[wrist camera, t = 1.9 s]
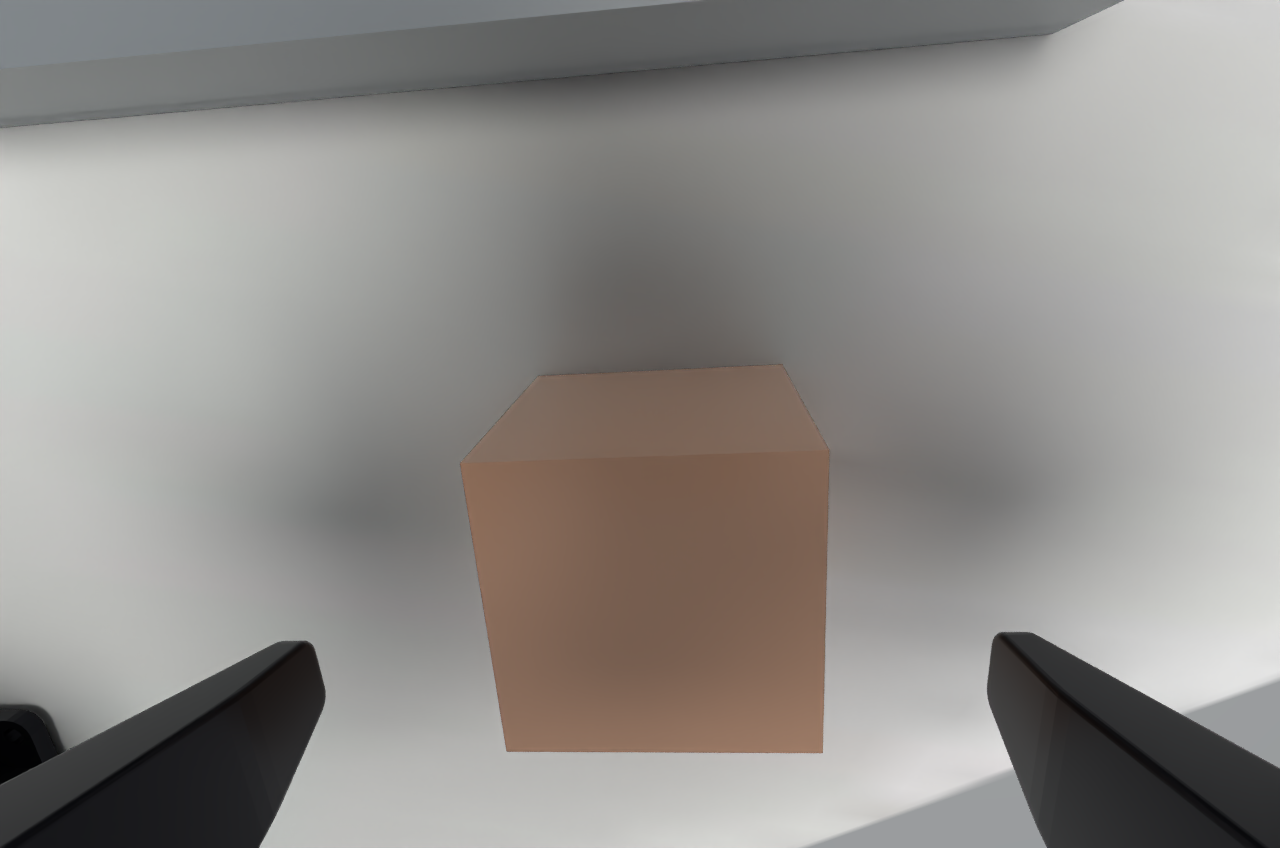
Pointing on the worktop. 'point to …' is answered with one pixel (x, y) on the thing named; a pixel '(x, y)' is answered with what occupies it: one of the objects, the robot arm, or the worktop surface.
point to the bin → (433, 44)
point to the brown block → (655, 562)
